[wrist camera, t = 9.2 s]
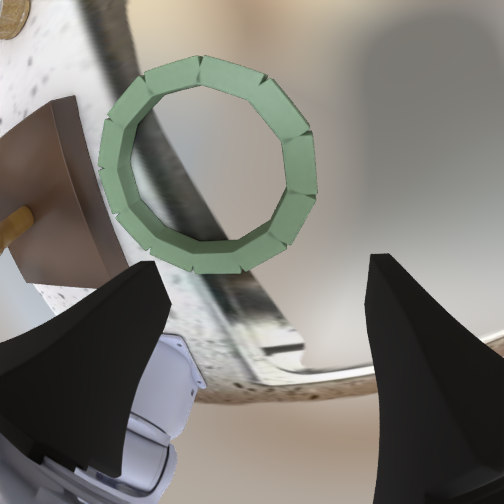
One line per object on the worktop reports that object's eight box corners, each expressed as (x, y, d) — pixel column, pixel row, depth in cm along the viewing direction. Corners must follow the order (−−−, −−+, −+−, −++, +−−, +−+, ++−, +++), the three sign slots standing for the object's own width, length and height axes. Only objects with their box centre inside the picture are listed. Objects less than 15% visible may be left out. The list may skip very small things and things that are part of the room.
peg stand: (131, 271, 22) (78, 343, 15) (38, 270, 25) (-3, 315, 19) (75, 95, 14) (-20, 123, 7) (-8, 151, 17) (-65, 184, 11)
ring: (319, 257, 18) (320, 271, 17) (145, 261, 21) (135, 274, 20) (300, 43, 11) (299, 38, 10) (95, 96, 14) (79, 99, 13)
